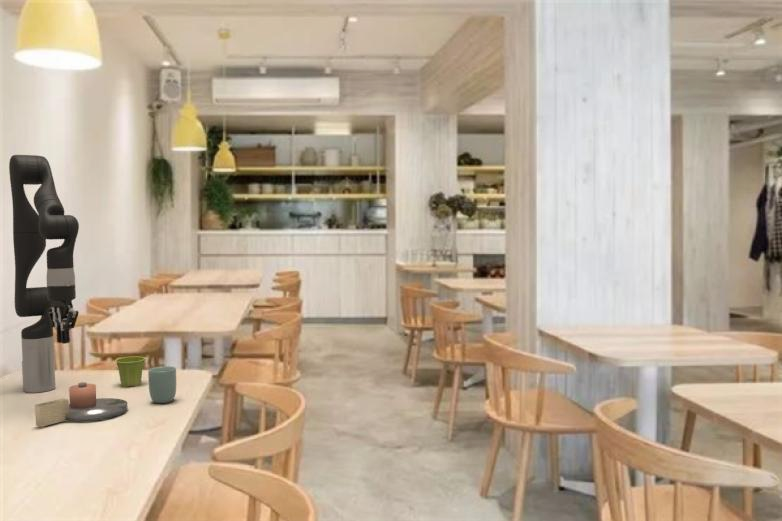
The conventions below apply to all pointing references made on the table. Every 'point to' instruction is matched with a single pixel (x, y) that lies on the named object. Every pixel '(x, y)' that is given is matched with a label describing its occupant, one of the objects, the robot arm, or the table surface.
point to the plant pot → (130, 370)
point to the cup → (162, 384)
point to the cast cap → (82, 395)
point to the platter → (78, 411)
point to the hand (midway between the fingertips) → (63, 342)
